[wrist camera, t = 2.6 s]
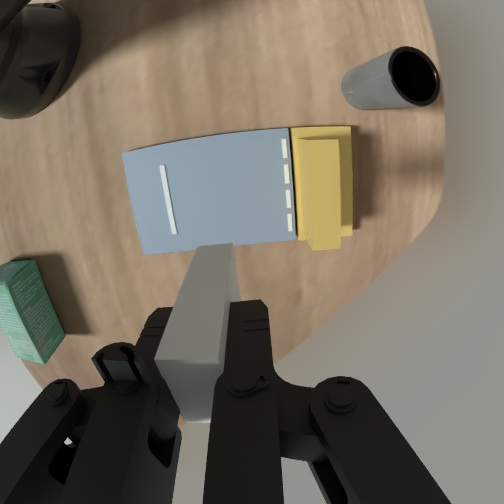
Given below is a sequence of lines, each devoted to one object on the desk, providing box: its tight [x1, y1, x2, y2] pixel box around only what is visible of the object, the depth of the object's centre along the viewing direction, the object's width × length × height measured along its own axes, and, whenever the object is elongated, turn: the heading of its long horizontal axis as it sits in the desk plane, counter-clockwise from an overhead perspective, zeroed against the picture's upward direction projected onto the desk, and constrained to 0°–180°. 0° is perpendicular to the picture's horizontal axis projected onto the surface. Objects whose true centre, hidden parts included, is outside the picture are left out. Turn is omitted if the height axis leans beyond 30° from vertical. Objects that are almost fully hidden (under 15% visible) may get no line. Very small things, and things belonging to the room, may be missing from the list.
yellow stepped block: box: [290, 126, 353, 251], centre depth 24 cm, size 11×6×6 cm, turn 6°
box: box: [0, 260, 66, 365], centre depth 30 cm, size 7×14×8 cm, turn 4°
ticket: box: [122, 128, 296, 255], centre depth 27 cm, size 11×16×1 cm
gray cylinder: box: [342, 46, 440, 110], centre depth 18 cm, size 4×4×10 cm
